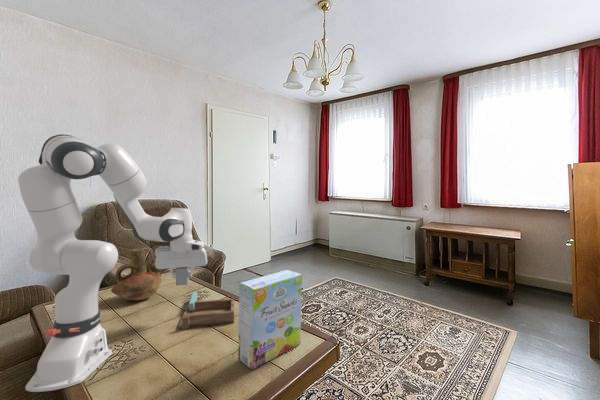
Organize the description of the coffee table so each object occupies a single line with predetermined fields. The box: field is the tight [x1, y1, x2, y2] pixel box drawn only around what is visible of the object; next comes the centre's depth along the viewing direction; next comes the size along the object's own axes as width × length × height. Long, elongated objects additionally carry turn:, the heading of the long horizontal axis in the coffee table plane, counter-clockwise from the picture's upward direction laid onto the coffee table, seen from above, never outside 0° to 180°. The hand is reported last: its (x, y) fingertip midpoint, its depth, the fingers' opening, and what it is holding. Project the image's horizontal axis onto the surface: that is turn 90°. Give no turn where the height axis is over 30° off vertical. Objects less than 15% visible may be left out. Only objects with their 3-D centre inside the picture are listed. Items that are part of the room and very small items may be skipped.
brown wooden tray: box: [178, 297, 235, 331], centre depth 128 cm, size 30×21×4 cm
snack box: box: [237, 269, 303, 371], centre depth 96 cm, size 22×9×26 cm, turn 136°
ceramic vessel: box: [110, 248, 170, 302], centre depth 142 cm, size 17×26×25 cm, turn 123°
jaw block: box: [175, 267, 190, 286], centre depth 120 cm, size 4×4×8 cm
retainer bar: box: [189, 291, 198, 311], centre depth 133 cm, size 14×2×3 cm, turn 13°
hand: (182, 277), depth 120 cm, fingers closed on jaw block, 4 cm apart
